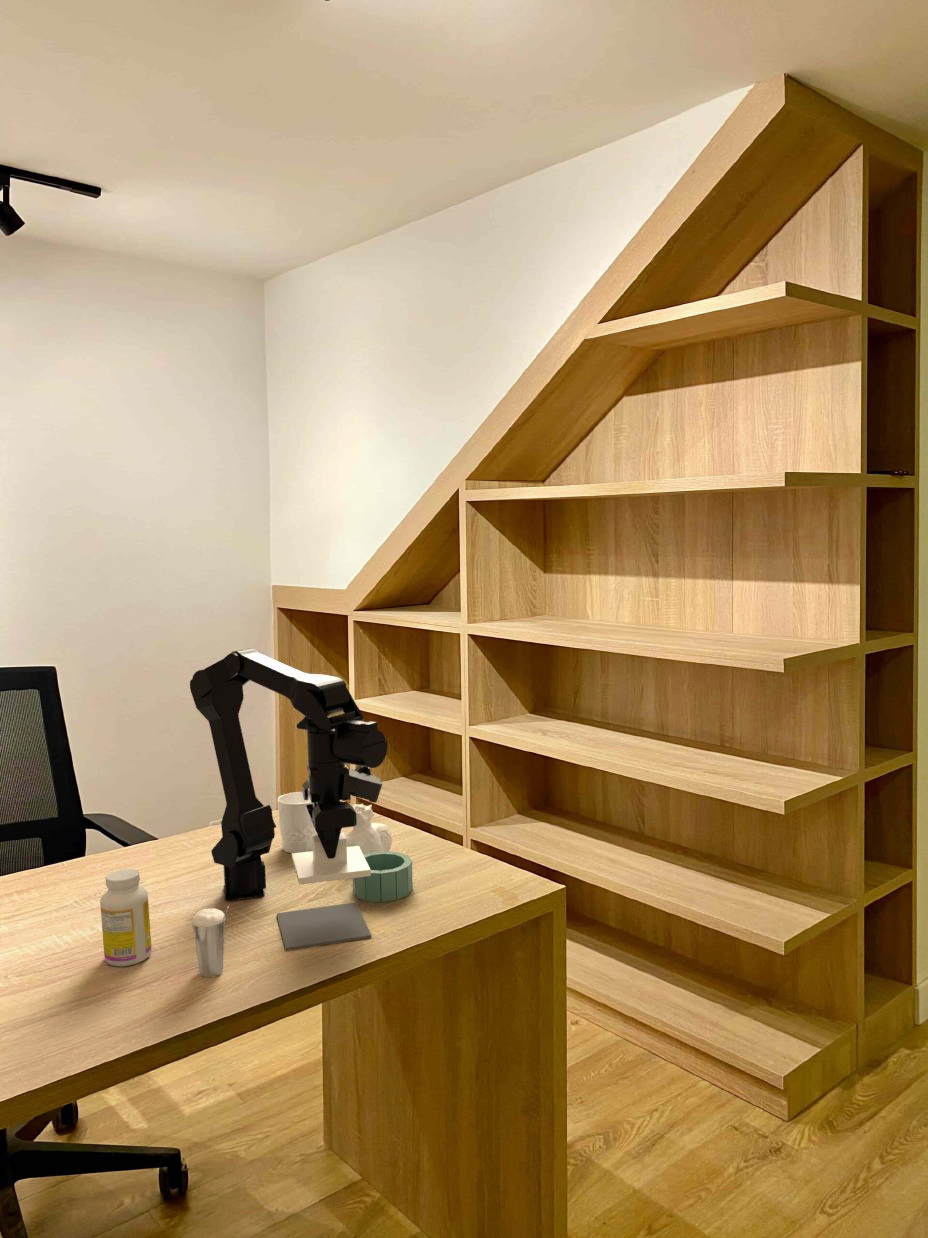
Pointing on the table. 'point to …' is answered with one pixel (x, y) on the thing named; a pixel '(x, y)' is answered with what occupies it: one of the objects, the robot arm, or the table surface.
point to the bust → (368, 832)
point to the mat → (322, 926)
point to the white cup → (295, 823)
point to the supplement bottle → (125, 919)
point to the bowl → (385, 877)
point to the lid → (330, 863)
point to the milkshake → (209, 941)
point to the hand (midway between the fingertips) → (329, 854)
